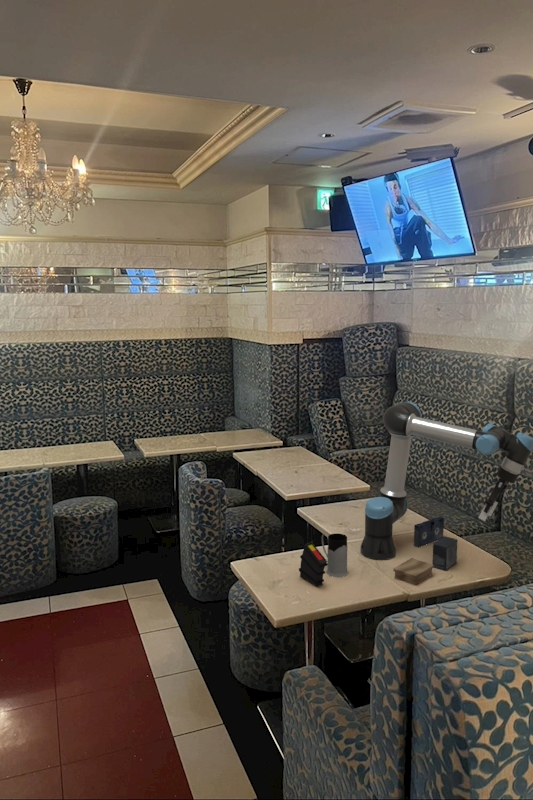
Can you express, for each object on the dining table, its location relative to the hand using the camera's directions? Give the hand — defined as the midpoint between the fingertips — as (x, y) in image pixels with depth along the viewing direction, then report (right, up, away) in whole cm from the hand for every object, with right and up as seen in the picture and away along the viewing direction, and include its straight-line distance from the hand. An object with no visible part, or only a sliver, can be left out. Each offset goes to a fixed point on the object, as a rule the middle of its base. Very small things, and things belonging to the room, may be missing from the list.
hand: (484, 517), depth 247 cm
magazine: (-69, -24, -8) cm, 74 cm away
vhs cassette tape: (-14, -18, +32) cm, 39 cm away
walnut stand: (-29, -23, -3) cm, 37 cm away
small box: (-14, -22, +7) cm, 27 cm away
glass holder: (-60, -22, +3) cm, 65 cm away
